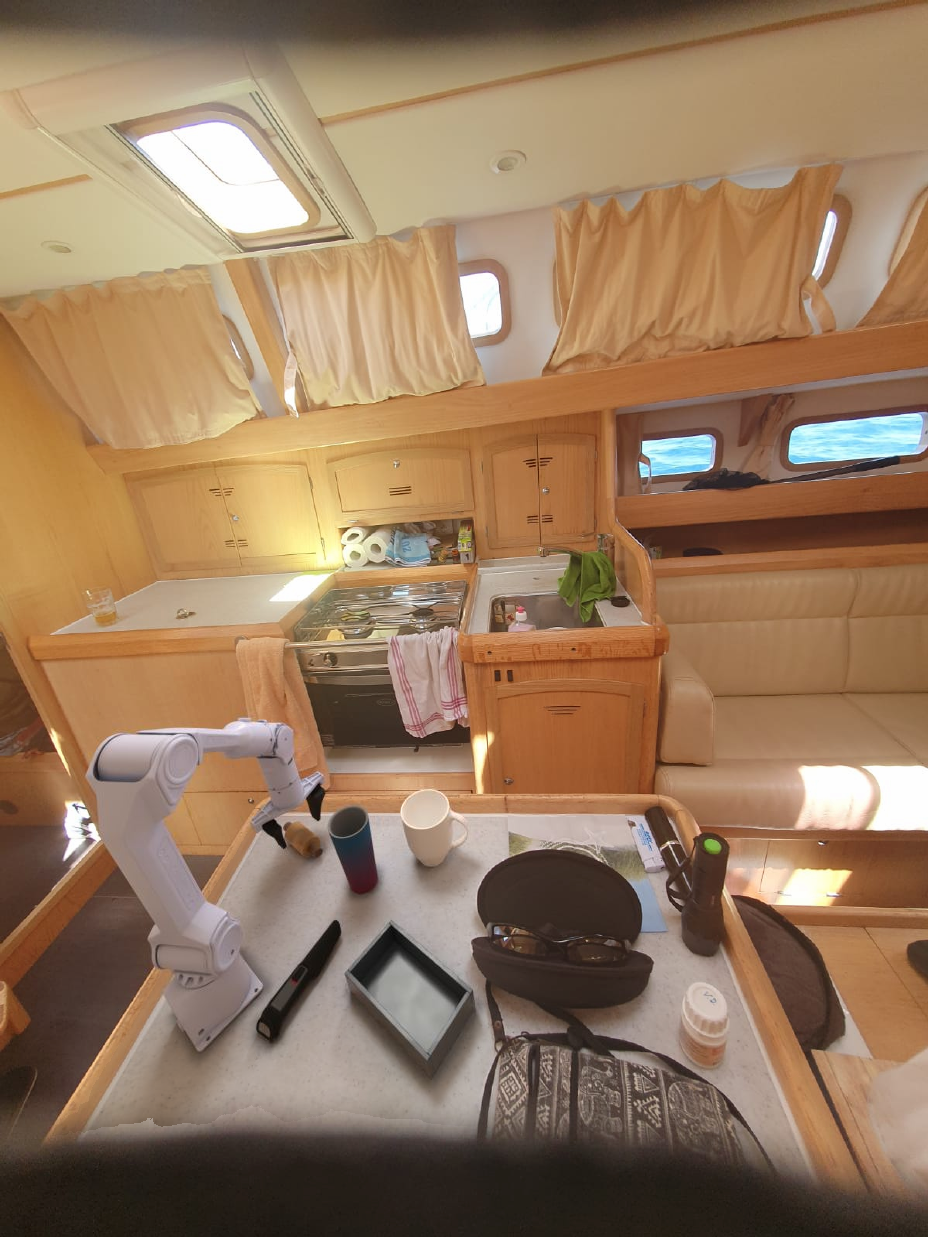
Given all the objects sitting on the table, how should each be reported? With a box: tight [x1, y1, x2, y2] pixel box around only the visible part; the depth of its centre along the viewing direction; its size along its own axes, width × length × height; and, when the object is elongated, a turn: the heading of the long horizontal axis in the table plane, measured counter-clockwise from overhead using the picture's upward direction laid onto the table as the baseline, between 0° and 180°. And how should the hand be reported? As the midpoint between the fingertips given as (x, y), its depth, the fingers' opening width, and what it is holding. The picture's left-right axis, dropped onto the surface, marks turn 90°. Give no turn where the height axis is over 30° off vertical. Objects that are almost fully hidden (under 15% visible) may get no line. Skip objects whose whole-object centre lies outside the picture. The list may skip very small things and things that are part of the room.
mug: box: [399, 788, 469, 868], centre depth 83 cm, size 12×9×12 cm
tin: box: [343, 919, 476, 1080], centre depth 63 cm, size 9×16×4 cm, turn 52°
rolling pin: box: [282, 821, 324, 859], centre depth 89 cm, size 4×11×4 cm, turn 52°
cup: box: [326, 804, 379, 895], centre depth 78 cm, size 7×7×15 cm
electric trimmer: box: [255, 919, 342, 1043], centre depth 67 cm, size 4×16×3 cm, turn 153°
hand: (300, 831), depth 88 cm, fingers open, 7 cm apart
